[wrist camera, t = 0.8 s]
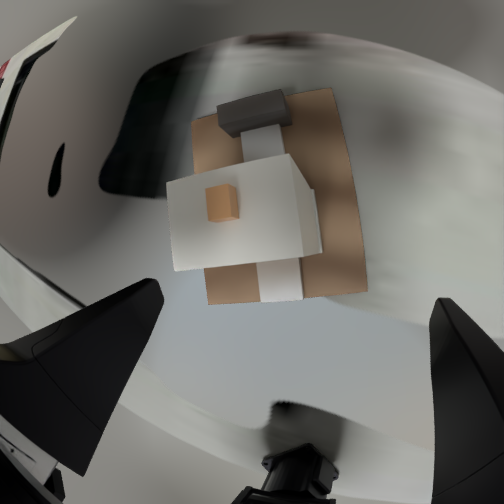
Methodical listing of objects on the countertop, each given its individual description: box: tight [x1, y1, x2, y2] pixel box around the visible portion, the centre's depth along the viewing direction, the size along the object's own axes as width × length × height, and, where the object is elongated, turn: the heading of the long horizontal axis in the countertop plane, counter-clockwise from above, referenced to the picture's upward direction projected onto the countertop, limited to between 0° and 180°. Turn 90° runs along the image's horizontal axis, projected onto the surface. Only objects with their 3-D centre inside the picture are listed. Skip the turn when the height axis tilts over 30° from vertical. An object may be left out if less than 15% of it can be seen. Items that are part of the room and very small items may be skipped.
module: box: [166, 154, 323, 271], centre depth 18 cm, size 5×7×11 cm
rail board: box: [191, 88, 368, 305], centre depth 23 cm, size 18×14×4 cm
